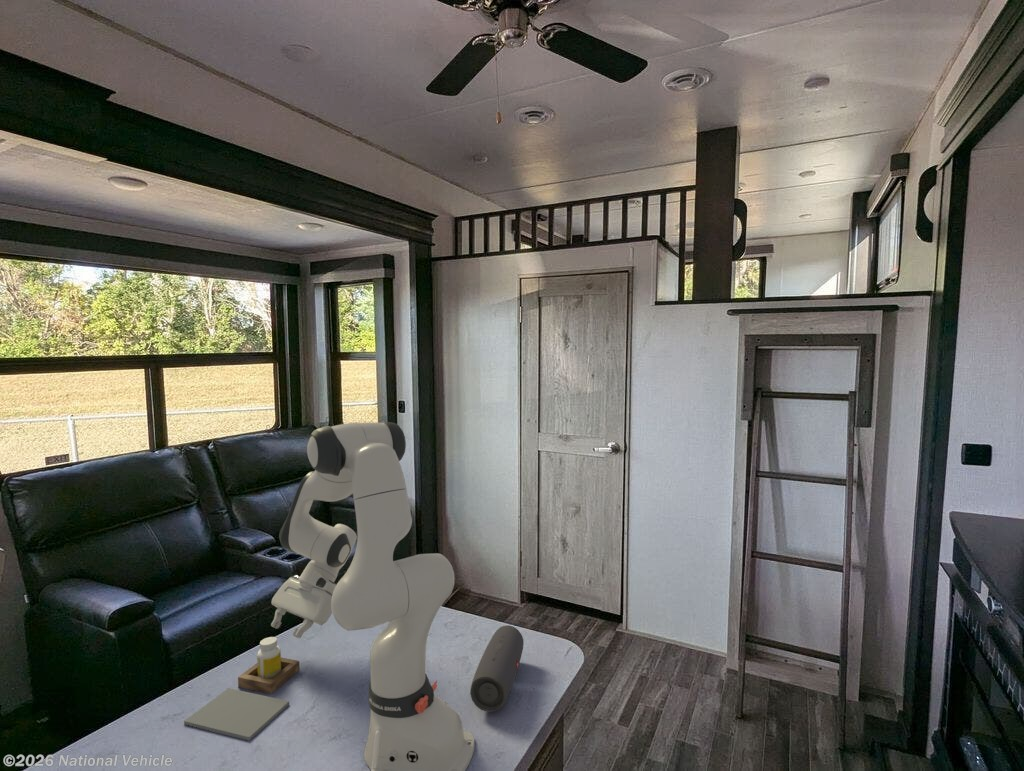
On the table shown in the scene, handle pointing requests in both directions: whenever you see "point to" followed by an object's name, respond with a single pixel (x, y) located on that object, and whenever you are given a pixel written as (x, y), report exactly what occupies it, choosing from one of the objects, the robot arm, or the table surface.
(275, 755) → the table surface
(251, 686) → the walnut collar
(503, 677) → the bluetooth speaker
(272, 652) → the supplement bottle
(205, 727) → the slate mat
